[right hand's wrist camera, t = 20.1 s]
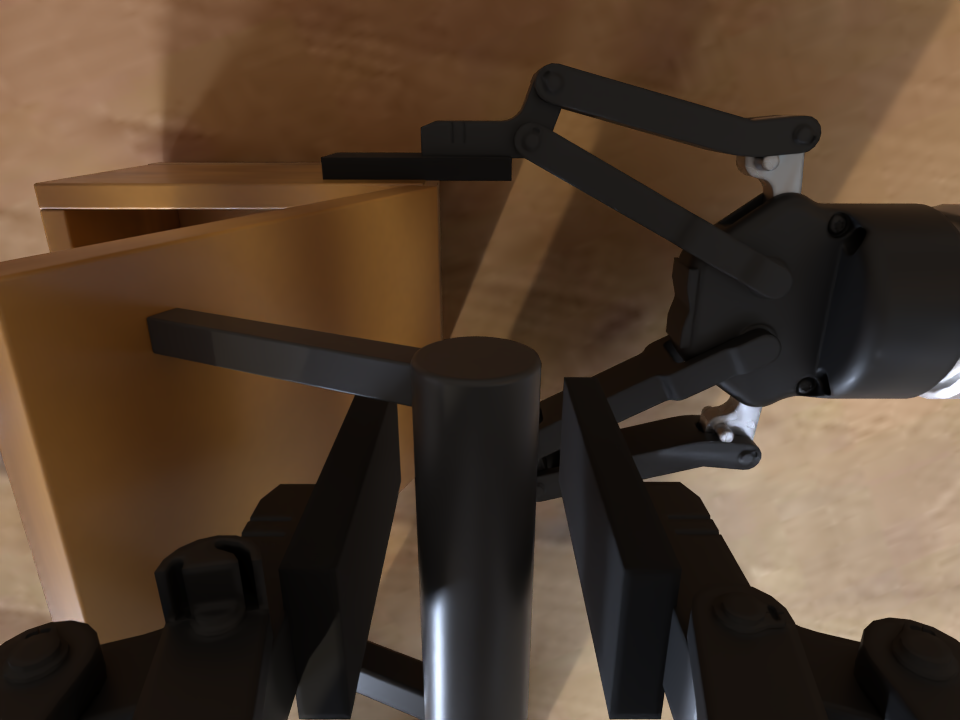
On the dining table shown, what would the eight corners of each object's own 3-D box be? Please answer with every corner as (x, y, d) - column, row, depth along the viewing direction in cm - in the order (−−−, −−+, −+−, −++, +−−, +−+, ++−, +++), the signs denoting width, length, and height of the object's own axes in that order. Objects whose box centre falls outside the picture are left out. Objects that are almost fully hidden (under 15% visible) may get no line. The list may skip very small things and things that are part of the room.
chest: (193, 355, 33) (94, 441, 24) (160, 162, 29) (31, 182, 21) (443, 355, 33) (432, 440, 24) (439, 162, 30) (424, 182, 21)
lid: (86, 737, 13) (459, 949, 10) (-57, 271, 9) (447, 355, 6) (417, 444, 24) (640, 496, 21) (407, 184, 21) (672, 198, 17)
